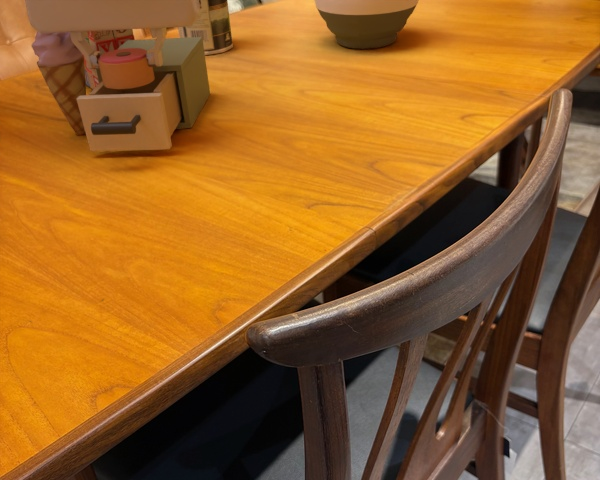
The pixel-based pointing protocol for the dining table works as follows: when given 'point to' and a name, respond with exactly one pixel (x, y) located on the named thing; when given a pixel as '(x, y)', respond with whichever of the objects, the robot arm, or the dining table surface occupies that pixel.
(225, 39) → the coffee can
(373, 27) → the bowl
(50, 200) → the dining table surface
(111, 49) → the stack of blocks
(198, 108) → the cabinet
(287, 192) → the dining table surface
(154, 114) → the drawer
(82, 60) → the ice cream cone
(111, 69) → the donut
